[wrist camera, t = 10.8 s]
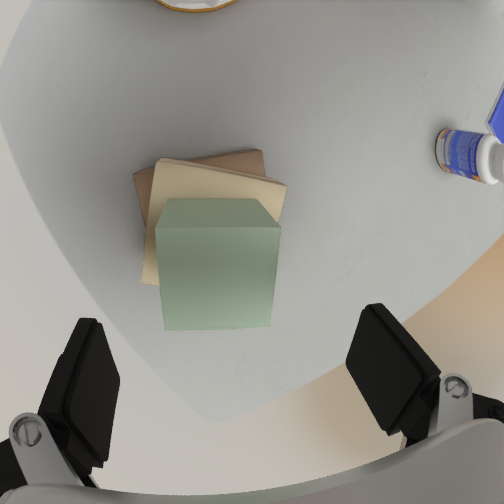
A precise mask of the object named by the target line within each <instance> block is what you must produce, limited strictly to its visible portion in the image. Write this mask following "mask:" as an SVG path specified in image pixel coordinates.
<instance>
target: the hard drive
mask: <svg viewBox="0 0 504 504" xmlns="http://www.w3.org/2000/svg"><path fill="white" fill-rule="evenodd" d="M485 124H486V126H487V128H488V131H489V133H490V135H494V136H495V137H497V138H498V139H499V141H500V142H501V143H504V83H503V86H502V88H501V90H500V92H499V95H498V97H497V99H496V101H495V103H494V105H493V108H492V110H491V112H490V114H489V116H488V118H487V120H486V122H485Z"/></svg>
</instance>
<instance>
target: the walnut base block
mask: <svg viewBox="0 0 504 504" xmlns="http://www.w3.org/2000/svg"><path fill="white" fill-rule="evenodd" d="M185 161H187V162H192V163H198V164H204V165H209V166H215V167H220V168H225V169H230V170H235V171H240V172H245V173H249V174H254V175H258V176H263V177H265V172H264V163H263V155H262V150H258V149H251V150H244V151H237V152H230V153H224V154H218V155H212V156H206V157H201V158H195V159H190V160H185ZM154 172H155V167H152V168H148V169H144V170H139V171H138V172H136V173H135V174H133V176H134V181H135V186H136V190H137V195H138V199H139V203H140V208H141V212H142V216H143V220H144V224H145V228H146V227H147V219H148V211H149V204H150V197H151V190H152V184H153V178H154Z"/></svg>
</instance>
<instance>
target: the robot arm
mask: <svg viewBox="0 0 504 504" xmlns="http://www.w3.org/2000/svg"><path fill="white" fill-rule="evenodd" d="M346 367H347V369H348V371H349V372H350V374H351V376H352V378H353V379H354V381H355V383H356V385H357V386H358V388H359V390H360V392H361V394H362V395H363V397H364V399H365V401H366V402H367V404H368V406H369V408H370V410H371V412H372V413H373V415H374V417H375V419H376V421H377V422H378V424H379V426H380V428H381V429H382V430H384V431H386V433H387V435H388V436H390V435H393V434H395V433H398V432H400V430H401V431H402V433H403V438H402V442H401V446H400V450H399V451H398V452H396V453H393V454H391V455H388V456H386V457H383V458H381V459H378V460H376V461H373V462H370V463H368V464H365V465H362V466H359V467H356V468H353V469H350V470H347V471H344V472H341V473H337V474H334V475H331V476H327V477H323V478H319V479H315V480H311V481H307V482H303V483H298V484H293V485H289V486H283V487H278V488H272V489H266V490H259V491H251V492H242V493H232V494H219V495H191V496H182V495H180V496H178V495H155V494H139V493H128V492H120V491H113V490H105V489H100V487H99V486H98V484H97V483H96V482H95V480H94V479H93V478H92V476H91V472H92V467H98V468H103V463H104V461H107V460H108V457H109V448H110V440H111V434H112V426H113V420H114V414H115V408H116V403H117V397H118V391H119V386H120V376H119V373H118V371H117V368H116V365H115V362H114V360H113V357H112V354H111V351H110V348H109V345H108V342H107V339H106V336H105V332H104V329H103V326H102V324H101V323H98V322H97V320H96V319H95V318H80V319H79V320H78V322H77V324H76V326H75V328H74V330H73V333H72V334H71V337H70V339H69V341H68V343H67V345H66V348H65V350H64V352H63V354H61V356H60V357H59V359H58V361H57V364H56V366H55V368H54V370H53V373H52V376H51V378H50V380H49V383H48V385H47V388H46V390H45V393H44V396H43V399H42V401H41V404H40V407H39V410H38V413H37V414H34V413H23V414H20V415H18V416H17V417H15V419H14V420H13V421H12V423H11V425H10V427H9V438H8V439H6V440H5V441H3V442H1V443H0V504H504V403H503V402H501V401H499V400H496V399H492V398H488V397H484V396H481V395H478V394H474V393H472V388H471V385H470V383H469V382H468V381H467V380H466V378H464V377H463V376H461V375H459V374H455V373H449V374H446V375H444V376H443V377H442V379H440V377H439V375H440V373H441V371H440V370H439V369H438V367H437V366H436V365H435V364H434V362H433V361H432V360H431V359H430V357H429V356H428V355H427V354H426V353H425V352H424V351H423V349H422V348H421V347H420V346H419V344H418V343H417V342H416V341H415V340H414V339H413V337H412V336H411V335H410V334H409V333H408V332H407V331H406V330H405V328H404V327H403V326H402V325H401V324H400V323H399V322H398V320H397V319H396V318H395V317H394V316H393V315H392V314H391V313H390V311H389V310H388V309H387V308H386V307H385V306H384V305H383V304H382V303H376V304H369V305H367V306H366V307H365V309H363V310H362V312H361V315H360V318H359V322H358V325H357V328H356V331H355V334H354V337H353V340H352V343H351V346H350V349H349V352H348V355H347V358H346Z"/></svg>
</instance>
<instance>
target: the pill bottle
mask: <svg viewBox="0 0 504 504" xmlns="http://www.w3.org/2000/svg"><path fill="white" fill-rule="evenodd" d="M436 155H437V160H438V162H439V164H440V166H441V167H442V168H443V169H444V170H445V171H447V172H450V173H453V174H457V175H460V176H464V177H467V178H470V179H473V180H476V181H479V182H482V183H485V184H489V185H493V184H495V183H497V182H498V181H500V182H502V183H504V143H501V142H500V141H499V139H498V138H497V137H495V136H494V135H490V134H484V133H478V132H471V131H464V130H457V129H445V130H443V131H442V132H441V133H440V135H439V137H438V139H437V144H436Z"/></svg>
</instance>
